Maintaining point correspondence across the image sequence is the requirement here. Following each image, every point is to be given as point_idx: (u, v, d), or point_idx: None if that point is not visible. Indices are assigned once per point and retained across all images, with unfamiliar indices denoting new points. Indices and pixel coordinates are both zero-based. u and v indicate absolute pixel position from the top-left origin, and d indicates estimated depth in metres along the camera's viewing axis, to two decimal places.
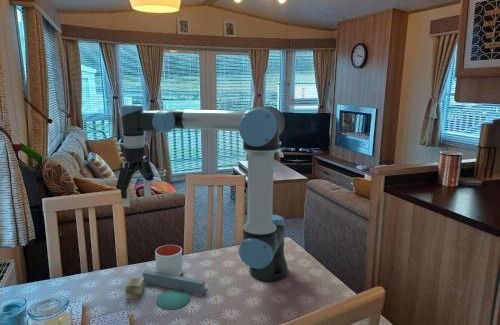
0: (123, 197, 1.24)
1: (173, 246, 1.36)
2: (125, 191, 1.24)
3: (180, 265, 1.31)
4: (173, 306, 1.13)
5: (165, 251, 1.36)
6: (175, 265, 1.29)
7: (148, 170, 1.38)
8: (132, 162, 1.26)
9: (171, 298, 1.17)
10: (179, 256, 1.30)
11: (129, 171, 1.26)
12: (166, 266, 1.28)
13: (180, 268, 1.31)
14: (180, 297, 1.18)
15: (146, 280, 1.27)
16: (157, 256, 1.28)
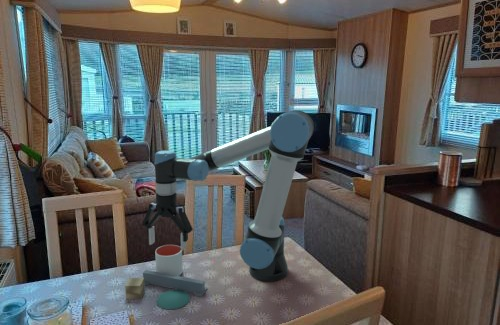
0: None
1: (173, 246, 1.36)
2: (148, 229, 1.32)
3: (180, 265, 1.31)
4: (173, 306, 1.13)
5: (165, 251, 1.36)
6: (175, 265, 1.29)
7: None
8: (157, 206, 1.28)
9: (171, 298, 1.17)
10: (179, 256, 1.30)
11: None
12: (166, 266, 1.28)
13: (180, 268, 1.31)
14: (180, 297, 1.18)
15: (146, 280, 1.27)
16: (157, 256, 1.28)
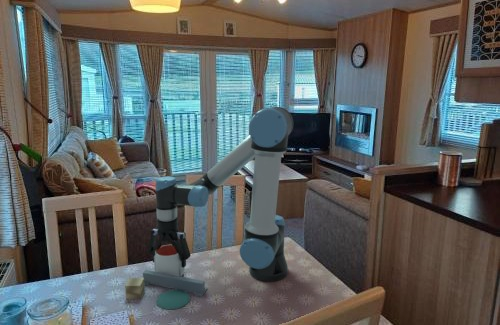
0: None
1: (173, 246, 1.36)
2: (153, 256, 1.34)
3: None
4: (173, 306, 1.13)
5: (165, 251, 1.36)
6: (175, 265, 1.29)
7: None
8: (159, 231, 1.30)
9: (171, 298, 1.17)
10: None
11: None
12: (166, 266, 1.28)
13: None
14: (180, 297, 1.18)
15: (146, 280, 1.27)
16: (157, 256, 1.28)
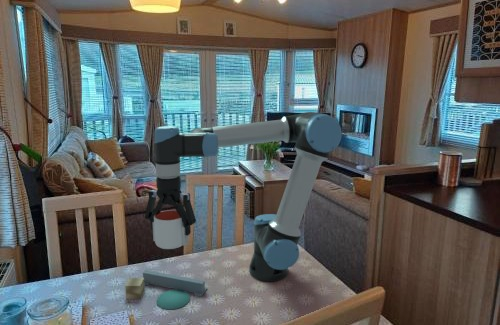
0: None
1: (175, 212, 1.16)
2: (152, 222, 1.13)
3: None
4: (173, 306, 1.13)
5: (166, 217, 1.16)
6: (178, 232, 1.08)
7: None
8: (158, 192, 1.10)
9: (171, 298, 1.17)
10: None
11: None
12: (167, 232, 1.07)
13: None
14: (180, 297, 1.18)
15: (146, 280, 1.27)
16: (156, 221, 1.08)
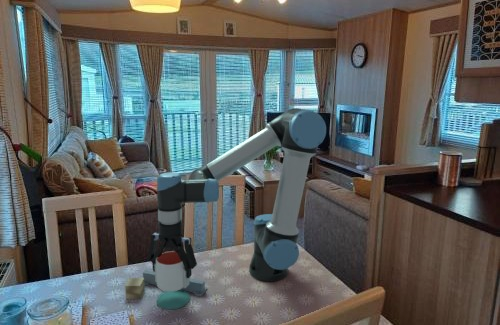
0: None
1: (176, 253, 1.19)
2: (154, 264, 1.16)
3: None
4: (173, 306, 1.13)
5: (167, 258, 1.19)
6: (179, 275, 1.11)
7: None
8: (160, 236, 1.13)
9: (171, 298, 1.17)
10: (183, 265, 1.12)
11: None
12: (168, 276, 1.10)
13: None
14: (180, 297, 1.18)
15: (146, 280, 1.27)
16: (158, 265, 1.11)
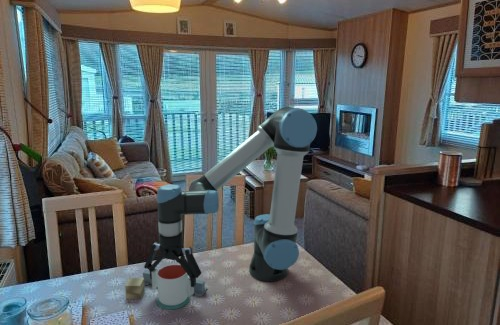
0: None
1: (177, 266, 1.20)
2: (151, 272, 1.17)
3: (186, 289, 1.15)
4: (173, 306, 1.13)
5: (168, 272, 1.20)
6: (180, 289, 1.12)
7: None
8: (161, 247, 1.13)
9: None
10: (184, 279, 1.13)
11: None
12: (170, 290, 1.11)
13: (186, 292, 1.15)
14: None
15: (146, 280, 1.27)
16: (159, 279, 1.12)
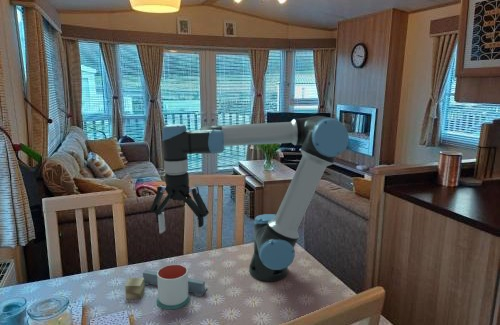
0: None
1: (177, 266, 1.20)
2: (157, 215, 1.16)
3: (186, 289, 1.15)
4: (173, 306, 1.13)
5: (168, 272, 1.20)
6: (180, 289, 1.12)
7: None
8: (167, 188, 1.13)
9: None
10: (184, 279, 1.13)
11: None
12: (170, 290, 1.11)
13: (186, 292, 1.15)
14: None
15: (146, 280, 1.27)
16: (159, 279, 1.12)
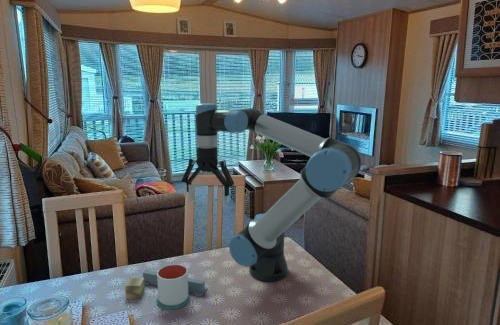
0: None
1: (177, 266, 1.20)
2: (188, 185, 1.30)
3: (186, 289, 1.15)
4: (173, 306, 1.13)
5: (168, 272, 1.20)
6: (180, 289, 1.12)
7: None
8: (198, 161, 1.26)
9: None
10: (184, 279, 1.13)
11: None
12: (170, 290, 1.11)
13: (186, 292, 1.15)
14: None
15: (146, 280, 1.27)
16: (159, 279, 1.12)
